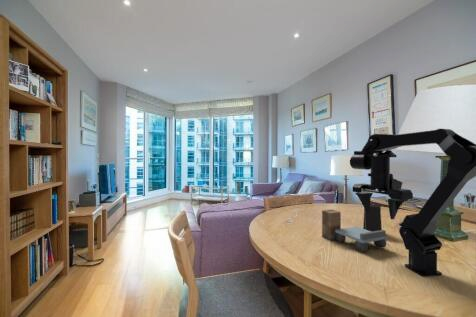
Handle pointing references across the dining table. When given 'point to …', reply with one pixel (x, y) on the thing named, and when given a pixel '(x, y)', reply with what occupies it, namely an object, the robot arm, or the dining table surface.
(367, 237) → the dolly
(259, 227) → the dining table surface
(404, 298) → the dining table surface
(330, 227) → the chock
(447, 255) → the dining table surface
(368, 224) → the door stopper
